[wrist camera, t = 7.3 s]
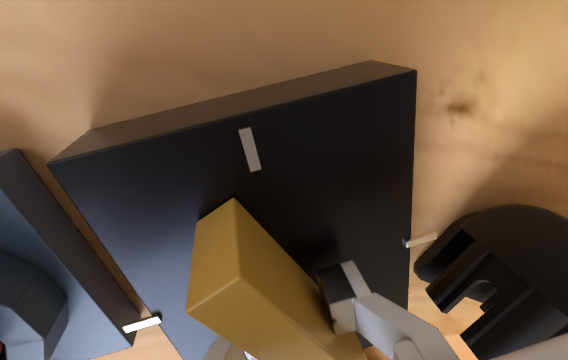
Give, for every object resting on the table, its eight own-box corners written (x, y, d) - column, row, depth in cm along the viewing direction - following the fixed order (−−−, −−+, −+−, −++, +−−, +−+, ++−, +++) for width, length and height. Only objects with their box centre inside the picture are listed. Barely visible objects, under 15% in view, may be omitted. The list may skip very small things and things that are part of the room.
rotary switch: (57, 137, 10) (-2, 176, 7) (398, 52, 11) (455, 61, 8) (193, 348, 17) (188, 409, 14) (396, 286, 18) (427, 331, 15)
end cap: (570, 232, 19) (725, 323, 13) (492, 302, 21) (594, 405, 15) (489, 174, 15) (657, 267, 9) (403, 267, 17) (495, 388, 12)
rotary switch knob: (195, 222, 9) (182, 323, 6) (233, 195, 9) (240, 286, 6) (322, 334, 14) (352, 428, 11) (350, 318, 14) (389, 408, 10)
